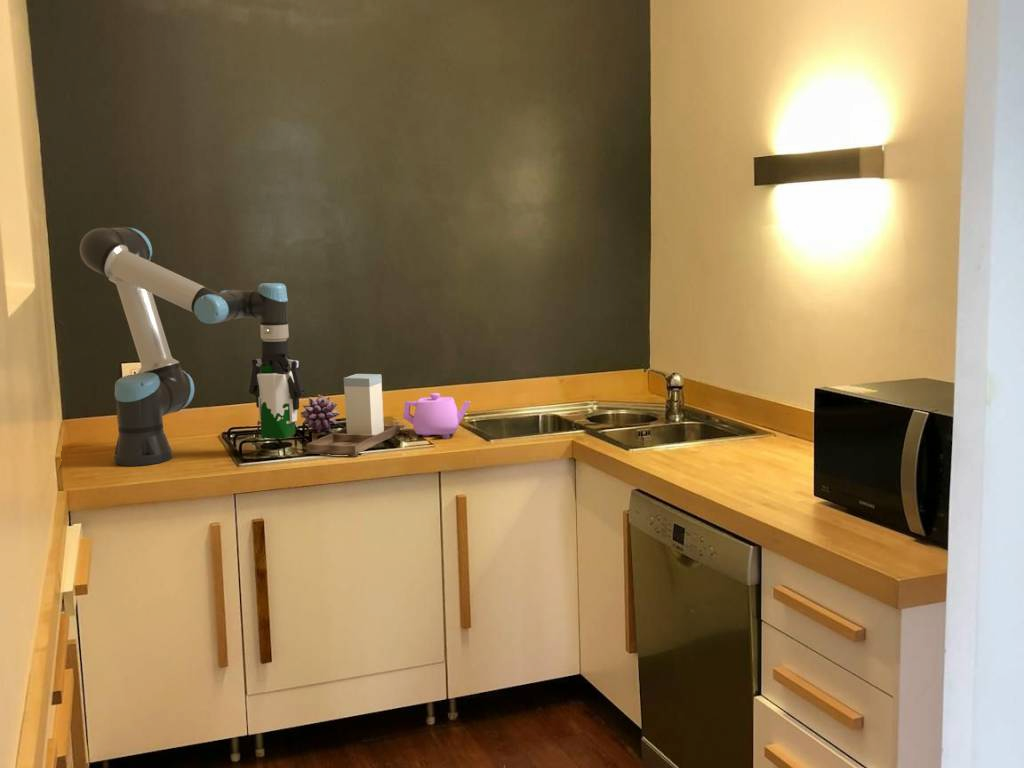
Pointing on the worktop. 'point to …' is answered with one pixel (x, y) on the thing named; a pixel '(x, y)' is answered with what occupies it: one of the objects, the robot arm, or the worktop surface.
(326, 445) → the tray
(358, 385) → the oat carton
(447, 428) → the teapot
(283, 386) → the soya milk
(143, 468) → the worktop surface
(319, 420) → the purple spiky ball
